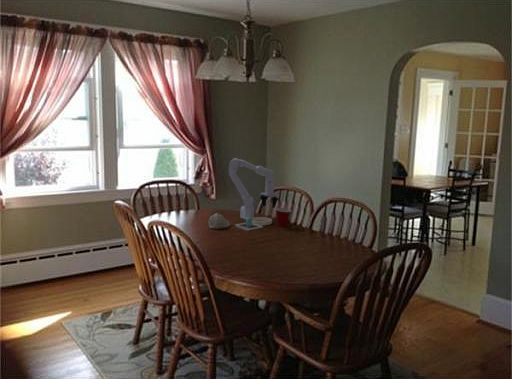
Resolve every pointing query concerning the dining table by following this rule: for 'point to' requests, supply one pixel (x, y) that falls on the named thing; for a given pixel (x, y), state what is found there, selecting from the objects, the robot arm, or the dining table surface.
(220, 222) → the seashell
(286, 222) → the plastic cup
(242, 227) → the tray
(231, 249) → the dining table surface
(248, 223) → the cylinder
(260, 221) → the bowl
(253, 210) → the robot arm
